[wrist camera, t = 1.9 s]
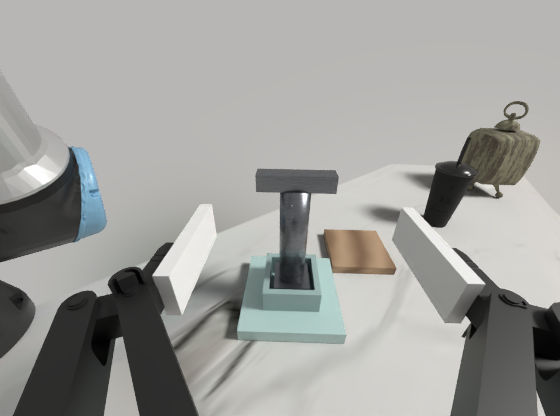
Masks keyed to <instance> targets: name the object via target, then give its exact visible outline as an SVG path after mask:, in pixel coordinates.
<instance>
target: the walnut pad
mask: <svg viewBox="0 0 560 416" xmlns="http://www.w3.org/2000/svg"><path fill="white" fill-rule="evenodd" d="M324 239H325V243H326V248H327V252H328V257H329V260H330V264H331V268H332V273H363V274H394V273H395V271H396V267H395V265H394V263H393V261H392V259H391V258H390V256H389V254H388V252H387V250H386V249H385V247H384V245H383V243H382V241H381V240H380V238H379V236H378V234H377V232H376V231H362V230H324Z"/></svg>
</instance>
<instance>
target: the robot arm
mask: <svg viewBox="0 0 560 416" xmlns="http://www.w3.org/2000/svg"><path fill="white" fill-rule="evenodd" d="M106 223H107V220H106V214H105V210H104V206H103V202H102V199H101V195H100V193H99V188H98V185H97V180H96V177H95V173H94V170H93V167H92V163H91V160H90V157H89V155H88V152H87V151H86V150H85V149H84V148H76V147H73V146H72V147H67V145H66V144H65V142H64V141H63V140H62V138H61V137H60V136H58V135H57V134H56V133H54V132H53V131H51V130H49V129H46V128H44V127H42V126H38V125H35V124H33V122H32V120H31V119H30V117H29V116H28V114H27V112H26V111H25V109H24V108H23V106H22V104H21V103H20V101H19V100H18V98H17V97H16V95H15V93H14V92H13V90H12V89H11V87H10V85H9V84H8V82H7V81H6V79H5V77H4V76H3V74H2V72H1V71H0V262H3V261H7V260H10V259H14V258H17V257H21V256H24V255H28V254H32V253H35V252H39V251H42V250H45V249H49V248H53V247H56V246H60V245H63V244H67V243H71V242H77V241H79V240H80V239H82V238H85V237H87V236H90V235H93V234H96V233H99V232H101V231H102V230H103V229H104V228H105V226H106ZM216 237H217V234H216V229H215V222H214V216H213V210H212V205H211V204H201V205H200V206H199V207H198V209H197V210H196V212H195V213H194V215H193V216H192V218H191V219H190V221H189V222H188V223H187V225H186V226H185V228H184V230H183V231H182V233H181V234H180V235H179V237H178V238H177V240H176V241H175V243H165V244H164V245H163V246H161V247H160V248H159V249H158V250H157V252H156V253H155V254H154V256H153V257H152V258H151V260H150V261H149V262H148V264H147V265H146V266H145V268H144V269H143V270H141V269H140V268H138V267H129V268H125V269H122V270H120V271H118V272H117V273H115V274H114V275H113V276H112V277H111V278H110V280H109V281H108V286H109V288H110V290H111V292H112V294H109V295H105V296H100V297H97V295H96V294H95V293H94V292H93V291H82V292H79V293H76V294H74V295H72V296H71V297H69V298H67V299H66V300H65V301H64V302H63V303H62V304H61V305H60V307H59V308H58V310H57V313H56V315H55V317H54V320H53V322H52V324H51V327H50V329H49V332H48V334H47V336H46V339H45V341H44V343H43V346H42V348H41V351H40V353H39V355H38V358H37V360H36V362H35V365H34V367H33V369H32V372H31V374H30V377H29V379H28V381H27V384H26V386H25V388H24V391H23V393H22V396H21V398H20V400H19V403H18V405H17V407H16V410H15V412H14V415H13V416H104V410H105V403H106V397H107V391H108V384H109V378H110V371H111V365H112V359H113V352H114V346H115V340H116V338H119V337H123V339H124V344H125V349H126V353H127V358H128V363H129V368H130V372H131V377H132V382H133V386H134V391H135V396H136V401H137V405H138V410H139V415H140V416H199V414H198V412H197V409H196V407H195V404H194V401H193V399H192V396H191V394H190V391H189V388H188V386H187V383H186V381H185V378H184V375H183V373H182V370H181V368H180V365H179V362H178V360H177V357H176V355H175V352H174V349H173V347H172V344H171V342H170V339H169V336H168V334H167V331H166V329H165V326H164V323H163V321H162V318H161V316H160V315H161V313H162V311H163V309H164V308H165V311H166V314H167V315H182V314H183V312H184V309H185V307H186V305H187V303H188V300H189V298H190V296H191V293H192V291H193V289H194V287H195V284H196V282H197V280H198V278H199V275H200V273H201V271H202V269H203V266H204V264H205V262H206V259H207V257H208V255H209V253H210V250H211V248H212V246H213V244H214V241H215V239H216ZM392 241H393V242H394V244H395V245H396V247H397V248H398V250H399V252H400V253H401V255H402V256H403V258H404V259H405V261H406V263H407V264H408V266H409V267H410V269H411V271H412V272H413V274H414V275H415V277H416V278H417V280H418V282H419V283H420V285H421V286H422V288H423V289H424V291H425V293H426V294H427V296H428V297H429V299H430V300H431V302H432V304H433V305H434V307H435V308H436V310H437V311H438V313H439V315H440V316H441V318H442V319H443V321H444V322H445V323H461V322H462V320H463V319H464V317H465V316H467V318H468V319H469V320H470V322H471V323H470V325H469V326H468V328H467V329H466V331H465V332H464V334H463V335H462V337H464V338H465V336H466V340H465V345H464V350H463V355H462V360H461V365H460V370H459V375H458V380H457V385H456V390H455V395H454V400H453V405H452V410H451V415H450V416H538V412H537V395H536V390H537V393H538V396H539V398H540V401H541V404H542V407H543V409H544V412H545V415H546V416H560V302H558V303H553V304H552V305H551V307H550V308H549V309H545V308H541V307H537V306H533V305H529V303H528V302H527V301H526V300H525V299H523V298H522V297H521V296H519V295H518V294H516V293H514V292H512V291H509V290H506V289H500V288H499V287H498V286H497V285H496V284H495V283H494V282H493V281H492V280H491V279H490V278H489V277H488V276H487V275H486V274H485V273H484V272H483V271H482V270H481V269H479V268H478V266H477V265H476V264H475V263H473V261H472V260H471V259H470V258H469V257H468V256H467V255H466V254H464V253H463V252H461V251H460V250H458V249H457V248H451V247H450V246H449V245H448V244H447V243H446V242H445V241H444V240H443V239H442V238H441V237H440V235H439V234H438V233H437V232H436V231H435V230H434V229H433V228H432V227H431V226H430V225H429V224H428V223H427V222H426V221H425V220H424V219H423V218H422V216H421V215H420V214H419V213H418V212H417V211H416V210H415V209H414V208H402V209H401V212H400V215H399V219H398V222H397V225H396V228H395V232H394V235H393V238H392ZM34 315H35V305H34V303H33V302H32V301H31V299H30V298H29V297H28V296H27V294H26V293H25V292H23V291H22V290H20V289H19V288H16V287H14V286H12V285H10V284H7V283H5V282H3V281H1V280H0V358H1V357H2V356H3V355H4V354H6V353H7V352H8V351H9V350H10V349H11V348H12V347H13V346H14V345H15V344H16V343H17V342H18V341H19V340H20V338H21V337H22V336H23V335H24V333H25V332H26V331H27V329H28V328H29V326H30V324H31V323H32V321H33V318H34Z"/></svg>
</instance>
